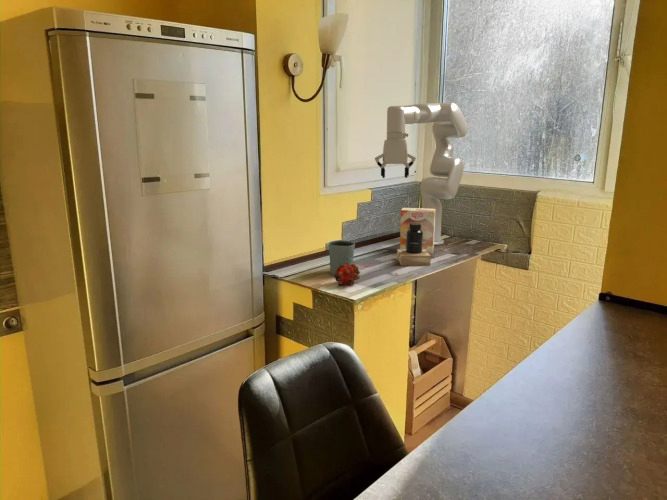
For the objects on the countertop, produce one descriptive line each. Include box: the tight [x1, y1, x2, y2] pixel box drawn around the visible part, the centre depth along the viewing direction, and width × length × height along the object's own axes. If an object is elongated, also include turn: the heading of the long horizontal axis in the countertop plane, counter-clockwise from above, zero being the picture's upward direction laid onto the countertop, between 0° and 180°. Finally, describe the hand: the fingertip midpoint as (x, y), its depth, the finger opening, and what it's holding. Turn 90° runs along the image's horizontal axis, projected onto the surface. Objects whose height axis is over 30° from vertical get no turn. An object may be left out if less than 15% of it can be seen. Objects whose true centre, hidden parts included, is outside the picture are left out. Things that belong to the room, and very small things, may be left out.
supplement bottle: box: [406, 223, 423, 254], centre depth 218 cm, size 7×7×12 cm
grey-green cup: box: [328, 239, 356, 276], centre depth 203 cm, size 10×10×12 cm
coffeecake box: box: [399, 207, 435, 255], centre depth 236 cm, size 15×7×20 cm, turn 76°
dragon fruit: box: [333, 262, 361, 286], centre depth 189 cm, size 8×8×12 cm
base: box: [396, 248, 432, 266], centre depth 220 cm, size 12×12×4 cm
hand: (394, 177), depth 222 cm, fingers open, 9 cm apart
